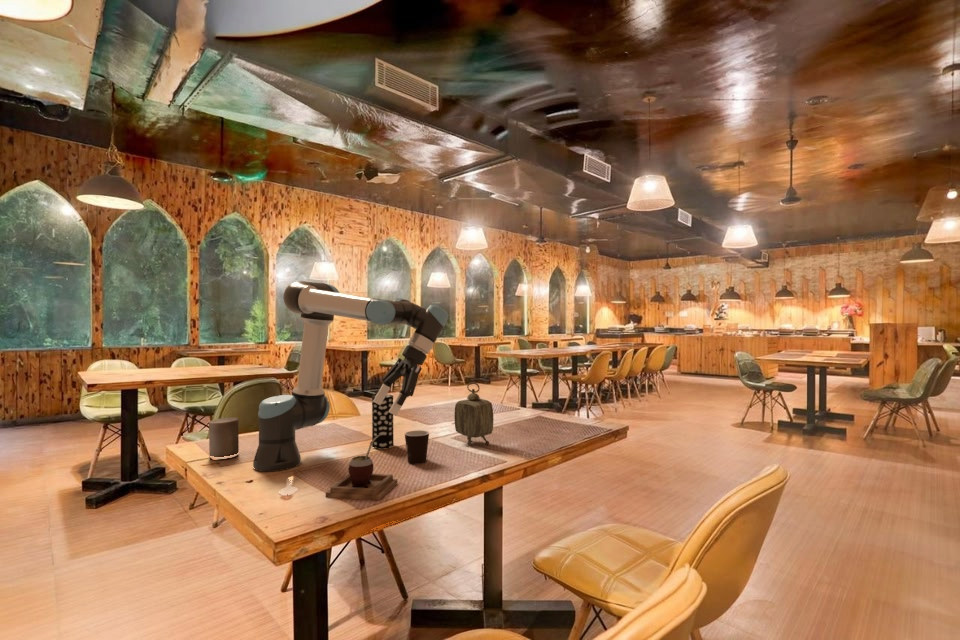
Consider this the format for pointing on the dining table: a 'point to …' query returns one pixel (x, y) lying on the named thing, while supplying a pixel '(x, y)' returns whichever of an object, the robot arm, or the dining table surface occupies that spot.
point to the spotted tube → (382, 423)
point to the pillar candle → (223, 437)
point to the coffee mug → (416, 446)
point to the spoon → (288, 489)
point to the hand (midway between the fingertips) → (384, 408)
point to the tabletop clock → (474, 416)
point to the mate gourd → (361, 469)
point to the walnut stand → (373, 492)
